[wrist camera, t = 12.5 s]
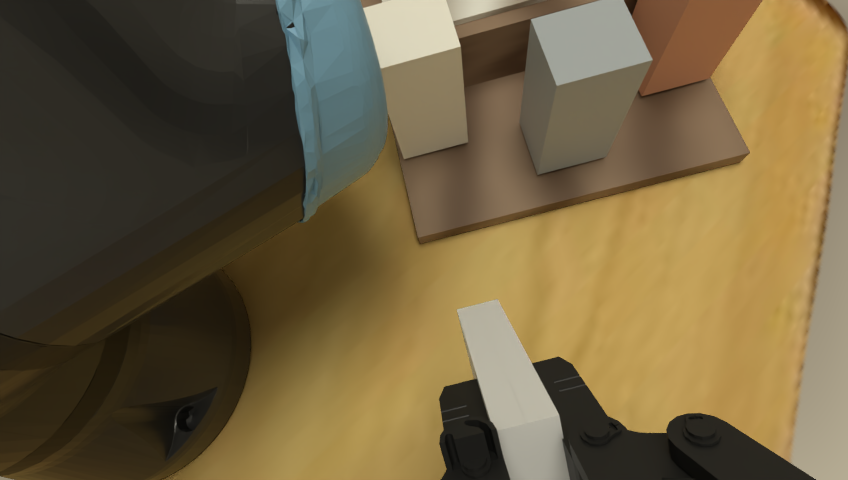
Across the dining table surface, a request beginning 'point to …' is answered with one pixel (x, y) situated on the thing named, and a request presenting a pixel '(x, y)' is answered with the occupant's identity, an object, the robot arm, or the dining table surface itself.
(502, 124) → the key console
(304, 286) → the dining table surface
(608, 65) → the slate key
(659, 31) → the pink tall block
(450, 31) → the ivory key
